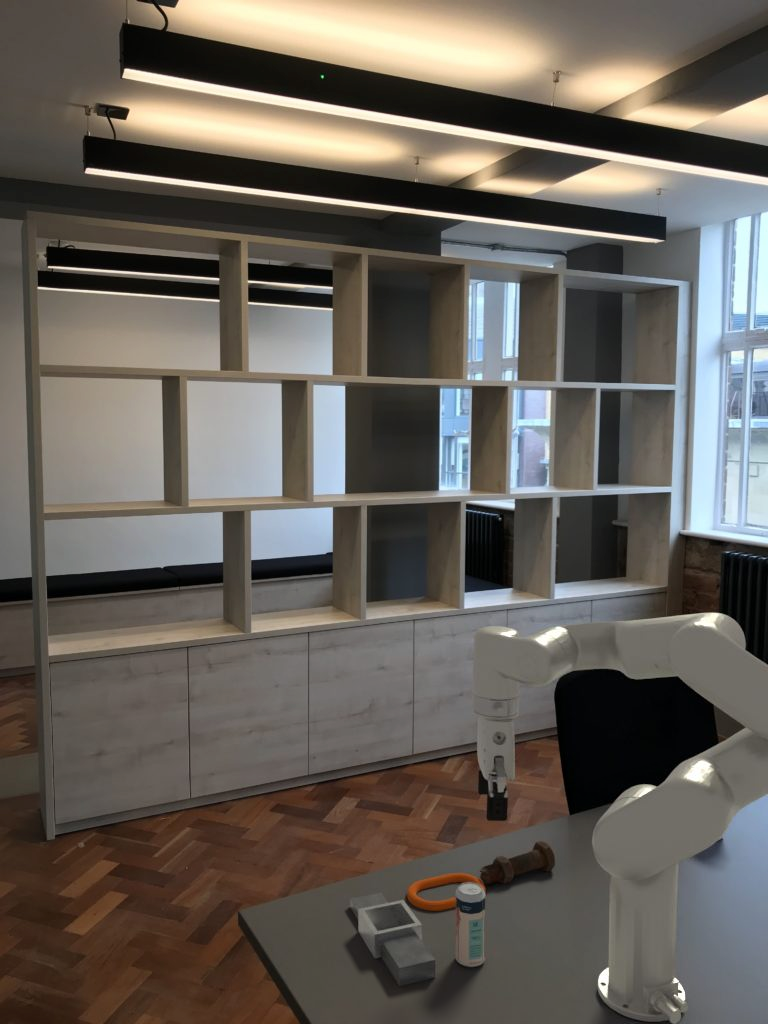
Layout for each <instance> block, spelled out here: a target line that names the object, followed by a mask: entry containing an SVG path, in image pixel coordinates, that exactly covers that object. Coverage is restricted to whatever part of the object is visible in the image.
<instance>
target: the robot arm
mask: <svg viewBox="0 0 768 1024" xmlns="http://www.w3.org/2000/svg"><path fill="white" fill-rule="evenodd" d="M746 647H747V643H746V637H745V634H744V631H743V629H742V627H741V625H740V624H739V623H738V622H737V621H736V620H735V619H734V618H732V617H731V616H729V615H727V614H724V613H720V612H700V613H699V612H698V613H692V614H691V613H690V614H681V615H679V614H678V615H672V616H664V617H662V616H661V617H655V618H653V617H652V618H643V619H634V620H621V621H620V620H615V621H594V622H593V621H591V622H583V623H573V624H564V625H557V626H551V627H548V628H545V629H543V630H541V631H538V632H536V633H534V634H531V635H527V636H524V637H521V635H520V633H519V632H518V631H517V630H516V629H514V628H510V627H507V626H502V625H501V626H499V625H496V626H495V625H491V626H490V625H489V626H488V625H487V626H484V627H480V628H479V629H477V631H476V632H475V633H474V637H473V660H472V661H473V662H472V664H473V665H472V692H471V694H472V695H471V713H472V715H474V716H476V718H477V731H476V732H477V735H476V736H477V739H476V740H477V741H476V746H477V747H476V751H477V753H476V755H477V761H478V766H479V770H478V777H477V778H478V781H477V782H478V783H477V784H478V785H477V792H478V794H479V795H481V796H482V795H486V816H485V817H486V820H487V821H489V822H492V821H493V822H495V821H496V822H499V821H500V822H506V821H507V820H508V805H509V802H508V801H509V795H508V784H507V783H508V781H507V780H509V781H511V782H512V781H514V780H515V778H516V772H515V771H516V769H515V768H516V767H515V766H516V762H515V759H516V756H515V755H516V754H515V751H516V749H515V747H516V746H515V745H516V744H515V743H516V742H515V724H514V723H515V722H514V719H515V718H518V717H519V711H520V709H519V708H520V685H521V684H523V685H526V686H530V687H535V688H536V687H537V688H538V687H543V686H545V685H548V684H550V683H552V682H553V681H555V680H556V679H558V678H560V677H561V676H562V675H564V674H566V673H568V672H574V671H585V670H595V669H596V670H599V669H601V670H602V669H603V670H605V669H606V670H607V669H608V670H615V671H620V672H621V673H622V674H624V675H625V676H626V677H627V678H628V679H631V680H632V679H634V680H644V679H645V680H646V679H656V678H669V677H671V678H672V677H678V678H679V679H680V680H682V682H683V683H685V684H686V685H687V686H688V687H689V688H690V689H692V690H694V692H696V693H697V694H699V695H700V696H701V697H703V698H704V699H706V701H708V702H709V703H711V704H713V705H714V706H716V708H718V709H719V710H720V711H722V712H723V713H725V714H727V715H728V716H729V717H731V718H732V719H734V720H735V721H736V722H738V723H740V725H742V726H743V727H744V728H742V729H741V730H739V731H738V732H736V733H735V734H733V735H732V736H729V737H728V738H726V739H725V740H724V741H721V742H719V743H717V744H716V745H714V746H712V747H710V748H708V749H707V750H706V749H705V751H703V752H700V753H699V754H696V755H694V756H692V757H690V758H688V759H685V760H683V761H682V762H680V763H679V764H678V765H677V766H675V768H674V769H673V770H672V771H671V772H670V774H669V775H668V776H667V778H665V780H664V781H663V782H661V783H660V784H659V785H658V786H656V785H653V784H649V783H648V784H645V783H643V784H637V785H634V786H631V787H629V788H628V789H626V790H624V791H623V792H622V793H621V794H620V795H619V796H618V797H617V798H616V799H615V800H614V801H613V803H612V804H611V805H610V807H609V808H608V809H607V810H606V811H605V812H604V814H602V816H601V817H600V818H599V820H598V821H597V823H596V825H595V826H594V829H593V831H592V839H591V845H592V851H593V854H594V857H595V859H596V861H597V863H598V864H599V865H600V867H601V868H602V869H603V870H604V871H605V872H606V873H607V874H609V875H610V877H609V882H610V883H609V909H608V910H609V918H608V919H609V920H608V922H609V923H608V928H609V929H608V967H606V968H605V969H604V970H603V971H602V972H600V974H599V975H598V979H597V992H598V995H599V997H600V998H601V1000H602V1001H603V1002H604V1003H605V1004H606V1006H608V1007H609V1008H610V1009H611V1010H612V1011H615V1012H617V1013H618V1014H620V1015H622V1016H624V1017H627V1018H629V1019H633V1020H637V1021H642V1022H647V1023H648V1022H649V1023H654V1022H655V1023H656V1022H665V1021H669V1023H671V1024H677V1023H679V1022H680V1020H681V1018H682V1014H681V1013H686V1012H687V1011H688V1009H689V1004H688V1003H687V1002H686V992H685V990H684V987H683V986H682V984H681V983H680V982H679V979H677V978H676V950H677V948H676V947H677V946H676V944H677V943H676V941H677V910H678V909H677V905H678V903H677V902H678V877H679V864H680V863H682V862H684V861H686V860H687V859H690V858H691V857H694V856H695V855H698V854H699V853H701V852H704V851H705V850H706V849H708V848H710V847H711V846H713V845H714V844H715V843H717V842H718V841H720V840H721V839H722V838H723V837H722V835H723V836H724V834H725V832H726V831H727V830H728V828H729V826H730V824H731V823H732V820H733V819H734V817H735V816H736V815H737V814H738V812H740V810H742V809H744V808H745V807H747V806H749V805H751V804H752V803H753V802H756V801H757V800H759V799H762V798H763V797H765V796H767V795H768V664H767V663H766V662H764V661H762V660H761V659H759V658H757V657H756V656H755V655H753V654H752V653H751V652H749V651H747V650H746ZM721 837H722V838H721ZM720 838H721V839H720ZM719 839H720V840H719Z"/></svg>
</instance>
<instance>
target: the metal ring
mask: <svg viewBox="0 0 768 1024" xmlns="http://www.w3.org/2000/svg"><path fill="white" fill-rule="evenodd" d="M467 882H472V883H477V884H479V885H480V886H482V888H483V890H484V892H485V893H486V892H487V891H486V890H487V889H486V884H485V883H484V882H483V881H482V880H481V878H478V877H476V876H474V875H472V874H469V873H464V872H454V873H453V872H452V873H447V874H443V875H442V874H441V875H438V876H433V877H430V878H424V879H421V880H417V881H415V882H413V883H412V884H411V885H410V886H409V887H408V889H407V892H406V898H407V900H408V902H409V903H410V904H411V905H413V906H414V907H415V908H417V909H420V910H423V911H430V912H441V911H446V910H450V909H454V908H455V909H456V896H455V897H451V898H446V899H442V900H436V901H435V900H426V899H424V898H421V897H419V896H418V895H417V893H418V892H420V891H423V890H425V889H426V890H427V889H430V888H434V887H439V886H443V885H448V884H452V883H467Z"/></svg>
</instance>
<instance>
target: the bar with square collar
mask: <svg viewBox="0 0 768 1024" xmlns="http://www.w3.org/2000/svg"><path fill="white" fill-rule="evenodd" d="M349 907H350V910H351V911H352V912H353V914H354V916H355V917H356V919H357V922H358V927H357V928H358V933H359V935H360V936H361V938H362V939H363V941H364V944H366V946H367V948H368V950H369V952H370V953H371V956H372V957H373V958H374V959H378V958H381V960H383V963H384V964H385V966H386V967H387V968H388V971H389V973H390V974H391V975H392V977H393V978H394V980H395V982H396V983H397V984H398V986H399V987H402V986H406V985H411V984H414V983H418V982H422V981H427V980H432V979H436V958H435V957H434V956H433V955H432V952H431V951H430V950H429V949H428V947H427V945H425V943H424V942H423V933H422V932H423V927H422V926H423V924H422V923H421V921H420V920H419V919H418V918H417V916H416V915H415V913H414V912H413V911H412V909H411V908H410V907H409V906H408V904H407V903H406V902H405V900H404V899H401V900H396V901H392V902H390V901H388V900H387V899H386V897H385V896H384V894H383V893H382V892H376V893H372V894H368V895H367V894H366V895H362V896H357V897H351V898H349Z"/></svg>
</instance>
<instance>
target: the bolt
mask: <svg viewBox="0 0 768 1024" xmlns="http://www.w3.org/2000/svg"><path fill="white" fill-rule="evenodd" d="M555 858H556V857H555V853H554V850H553V849H552V848H551V846H550V845H549V844H548V843H547V842H545V841H542V840H539V841H536V842H535V843H534V845H533V848H532V850H530V851H528V852H525V853H522V854H519V855H516V856H513V857H510V858H507V857H506V856H503V855H499V856H496V857H495V858H494V859H493V862H492V864H491V863H490V864H488V865H485V866H482V868H480V869H479V873H480V875H479V879H480V880H481V881H482V882H483V884H484V885H491V884H493V883H497V882H500V881H501V882H502V883H501V882H500V883H501V884H503V883H506V884H508V883H507V882H509V883H511V882H512V880H513V879H514V877H515V876H519V875H522V874H524V873H527V872H531V871H533V870H537V869H538V870H539V869H540V868H541V869H540V870H542V869H543V870H544V871H543V870H542V871H543V872H545V871H546V872H545V873H549V872H552V871H553V870H554V868H555V865H556V859H555ZM548 871H549V872H548Z"/></svg>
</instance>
